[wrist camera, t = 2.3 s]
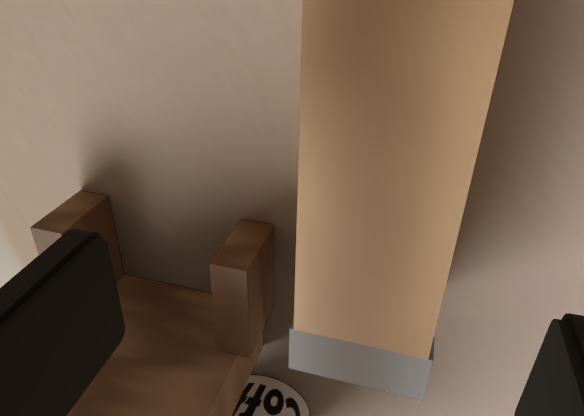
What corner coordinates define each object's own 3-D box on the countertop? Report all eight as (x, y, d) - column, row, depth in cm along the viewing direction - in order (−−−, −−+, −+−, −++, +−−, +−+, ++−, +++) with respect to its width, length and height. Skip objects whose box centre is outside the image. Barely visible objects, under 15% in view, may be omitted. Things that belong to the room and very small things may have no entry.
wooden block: (510, -76, 14) (539, -70, 9) (430, 289, 22) (423, 401, 17) (349, -81, 15) (298, -78, 10) (325, 269, 23) (288, 367, 18)
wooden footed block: (273, 224, 22) (151, 433, 13) (273, 348, 26) (180, 569, 17) (80, 190, 24) (-134, 348, 16) (108, 308, 29) (-48, 486, 20)
